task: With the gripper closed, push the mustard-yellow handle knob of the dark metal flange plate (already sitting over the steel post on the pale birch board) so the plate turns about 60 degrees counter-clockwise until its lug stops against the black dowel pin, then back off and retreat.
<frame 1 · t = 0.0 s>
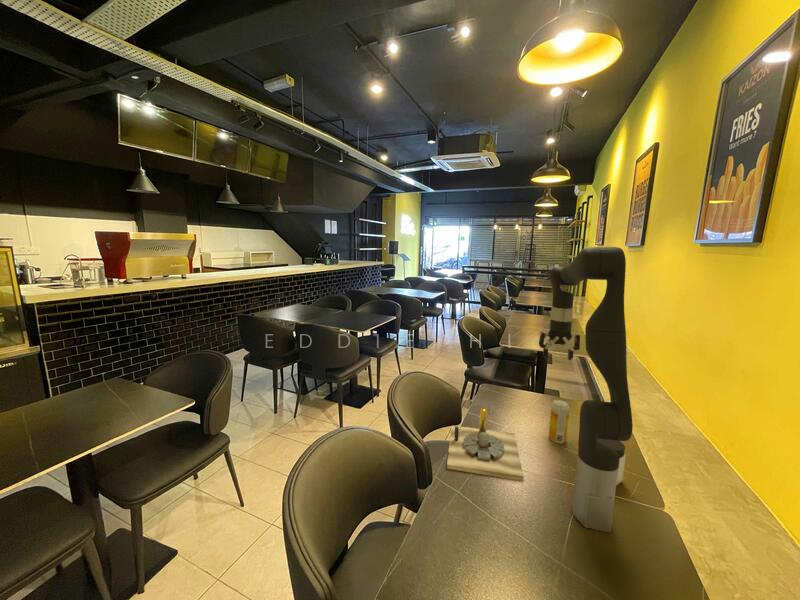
hand: (557, 358, 125), 29 cm above the table, fingers open, 8 cm apart
base: (483, 451, 114), on the table
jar: (605, 477, 102), on the table
flange: (483, 431, 115), point 6 cm above the table, hinge at 0.0°
orange white canister: (557, 440, 121), on the table
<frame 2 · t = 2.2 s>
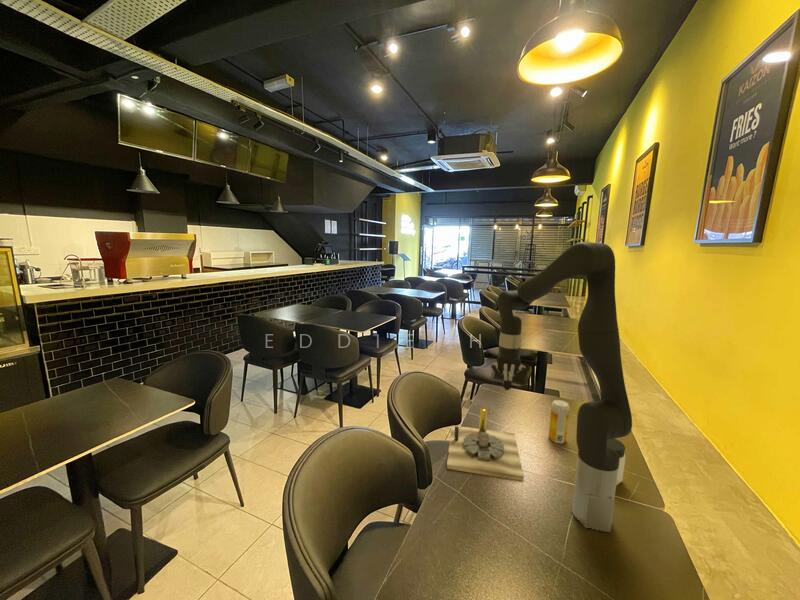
hand: (506, 389, 118), 20 cm above the table, fingers closed
nothing on the table moved.
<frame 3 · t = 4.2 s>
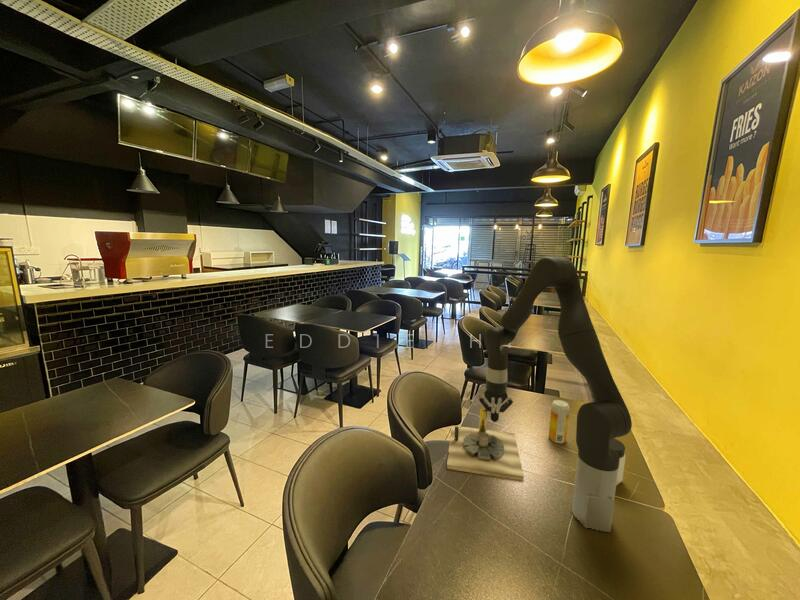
hand: (494, 420, 122), 7 cm above the table, fingers closed
flange: (483, 431, 115), point 6 cm above the table, hinge at 0.2°, touching gripper
everything else where it was.
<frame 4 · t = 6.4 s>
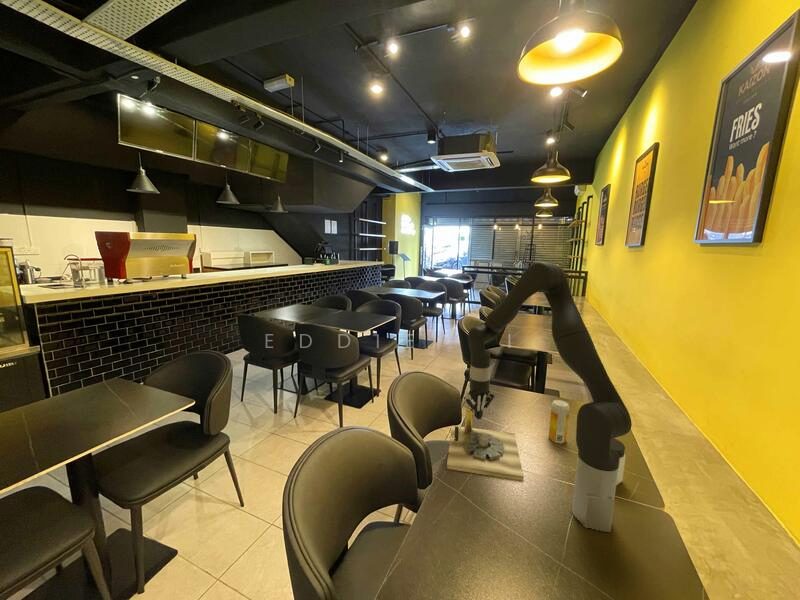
hand: (478, 418, 124), 7 cm above the table, fingers closed
flange: (480, 432, 115), point 6 cm above the table, hinge at 32.5°, touching gripper
everything else where it was.
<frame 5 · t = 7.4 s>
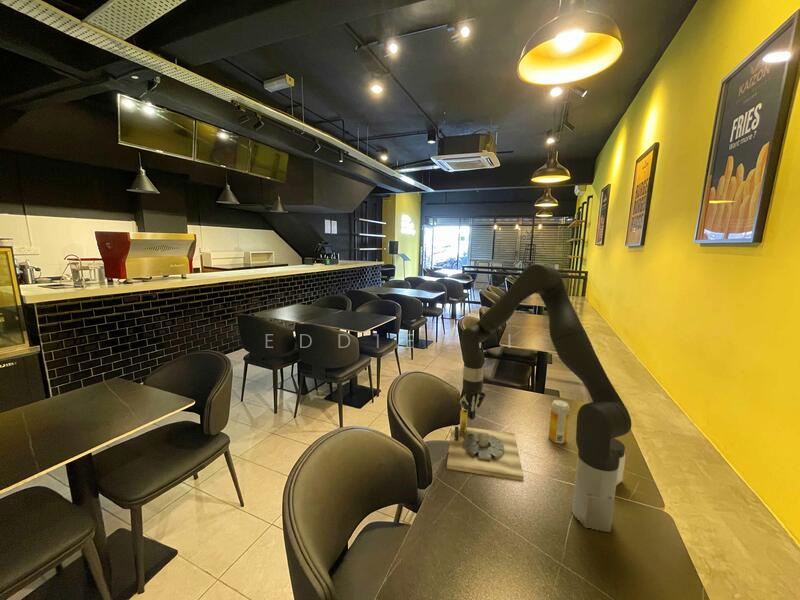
hand: (471, 418, 123), 7 cm above the table, fingers closed
flange: (479, 432, 115), point 6 cm above the table, hinge at 47.3°, touching gripper
everything else where it was.
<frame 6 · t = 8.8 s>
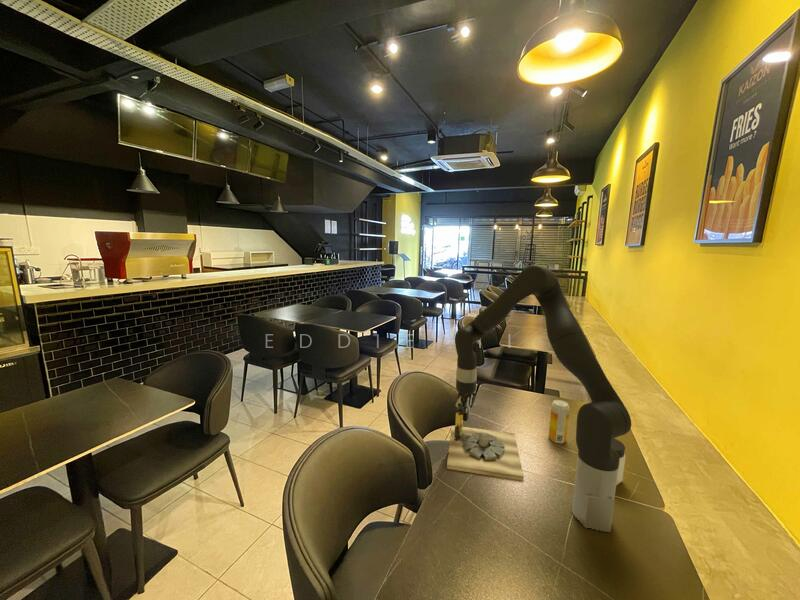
hand: (464, 419, 122), 7 cm above the table, fingers closed
flange: (478, 433, 114), point 6 cm above the table, hinge at 63.5°, touching base, gripper
everything else where it was.
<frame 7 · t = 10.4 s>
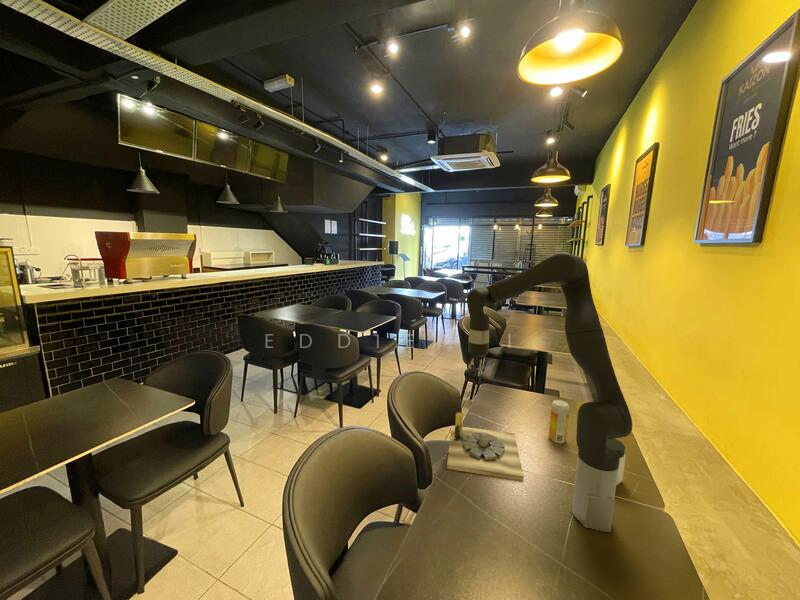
hand: (476, 383, 122), 20 cm above the table, fingers closed
flange: (478, 433, 114), point 6 cm above the table, hinge at 63.5°
everything else where it was.
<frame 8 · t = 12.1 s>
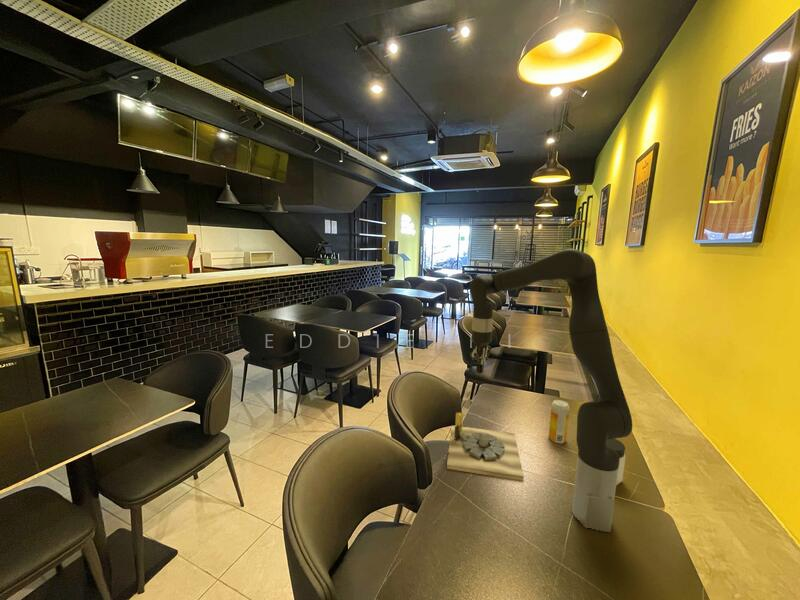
hand: (479, 372, 122), 25 cm above the table, fingers closed
nothing on the table moved.
at the end: flange at +64° (first picture: +0°) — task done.
